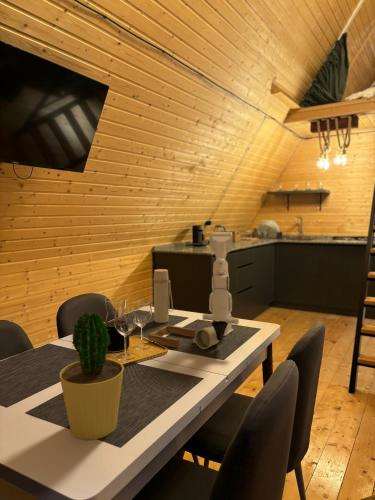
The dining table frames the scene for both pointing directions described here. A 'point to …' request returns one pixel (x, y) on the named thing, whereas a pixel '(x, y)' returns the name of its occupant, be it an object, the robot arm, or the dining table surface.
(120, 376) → the potted cactus
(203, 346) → the ceramic mug
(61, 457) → the dining table surface
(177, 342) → the walnut bracket
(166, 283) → the water bottle
